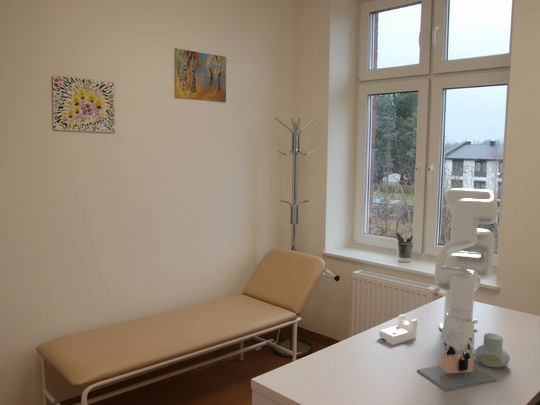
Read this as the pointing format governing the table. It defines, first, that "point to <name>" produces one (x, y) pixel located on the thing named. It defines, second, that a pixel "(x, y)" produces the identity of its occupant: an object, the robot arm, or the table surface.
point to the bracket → (400, 331)
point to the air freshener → (492, 352)
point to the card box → (454, 363)
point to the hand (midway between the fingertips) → (456, 365)
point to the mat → (455, 377)
